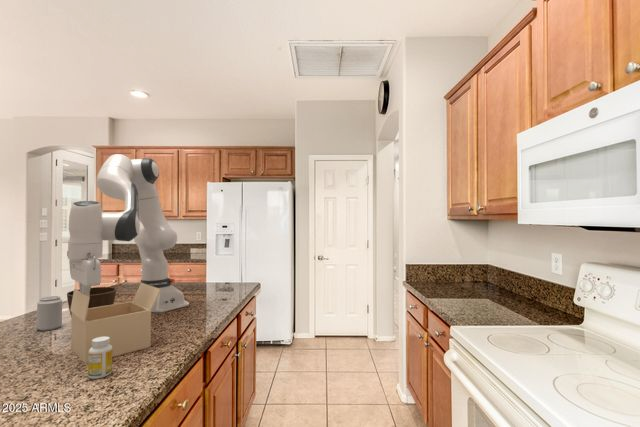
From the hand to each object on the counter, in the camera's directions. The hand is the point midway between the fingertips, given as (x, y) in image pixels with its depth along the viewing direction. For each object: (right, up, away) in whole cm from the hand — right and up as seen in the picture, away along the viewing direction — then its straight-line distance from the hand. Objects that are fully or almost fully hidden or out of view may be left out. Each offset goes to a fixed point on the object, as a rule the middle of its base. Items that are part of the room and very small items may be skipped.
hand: (84, 296), depth 103 cm
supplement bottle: (+14, -18, -14) cm, 27 cm away
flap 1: (-1, -2, -1) cm, 2 cm away
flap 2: (+12, -3, +14) cm, 18 cm away
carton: (+5, -18, +5) cm, 19 cm away
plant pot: (-10, -19, +17) cm, 27 cm away
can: (-31, -19, +25) cm, 44 cm away
